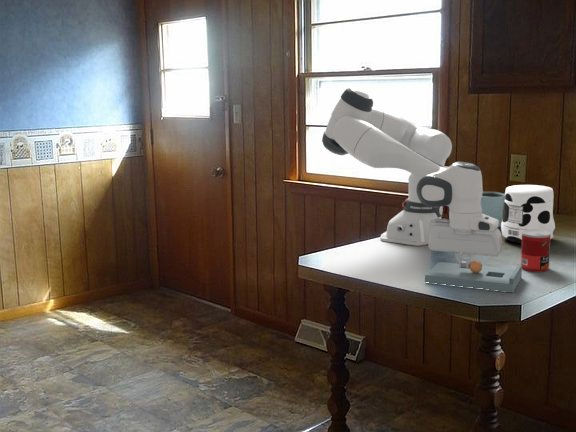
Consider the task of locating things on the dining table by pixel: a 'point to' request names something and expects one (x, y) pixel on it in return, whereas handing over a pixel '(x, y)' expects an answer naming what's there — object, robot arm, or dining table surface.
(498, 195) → the pale blue cup
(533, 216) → the milk container
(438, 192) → the robot arm
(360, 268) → the dining table surface
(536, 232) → the canned food
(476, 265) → the ball
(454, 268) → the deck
